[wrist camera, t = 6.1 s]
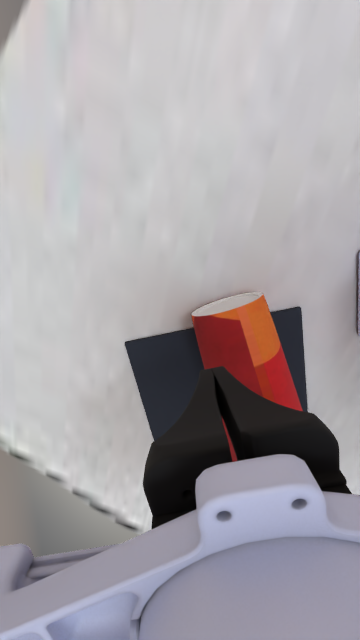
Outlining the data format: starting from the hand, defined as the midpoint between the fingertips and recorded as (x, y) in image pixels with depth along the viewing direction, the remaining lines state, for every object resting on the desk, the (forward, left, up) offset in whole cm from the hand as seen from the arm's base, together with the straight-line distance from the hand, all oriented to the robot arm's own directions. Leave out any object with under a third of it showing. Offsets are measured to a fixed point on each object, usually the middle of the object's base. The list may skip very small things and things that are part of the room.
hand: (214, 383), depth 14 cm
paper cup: (-2, -3, -6) cm, 7 cm away
